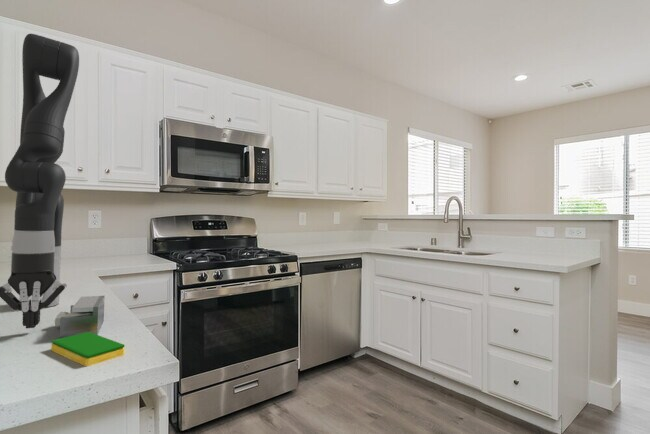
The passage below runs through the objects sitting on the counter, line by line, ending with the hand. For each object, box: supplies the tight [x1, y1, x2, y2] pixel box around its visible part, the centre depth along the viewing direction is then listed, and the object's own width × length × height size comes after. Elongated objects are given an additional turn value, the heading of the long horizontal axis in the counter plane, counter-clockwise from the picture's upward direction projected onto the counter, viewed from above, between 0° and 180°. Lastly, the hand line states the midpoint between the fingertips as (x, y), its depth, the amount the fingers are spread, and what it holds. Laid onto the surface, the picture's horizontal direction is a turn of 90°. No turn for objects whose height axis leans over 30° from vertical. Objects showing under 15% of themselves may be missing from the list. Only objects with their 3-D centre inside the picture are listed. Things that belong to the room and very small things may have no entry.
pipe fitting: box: [54, 311, 93, 328], centre depth 86 cm, size 8×4×7 cm
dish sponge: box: [50, 332, 125, 367], centre depth 72 cm, size 7×14×2 cm, turn 59°
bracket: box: [59, 295, 105, 339], centre depth 86 cm, size 12×7×6 cm, turn 25°
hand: (30, 327), depth 82 cm, fingers closed
